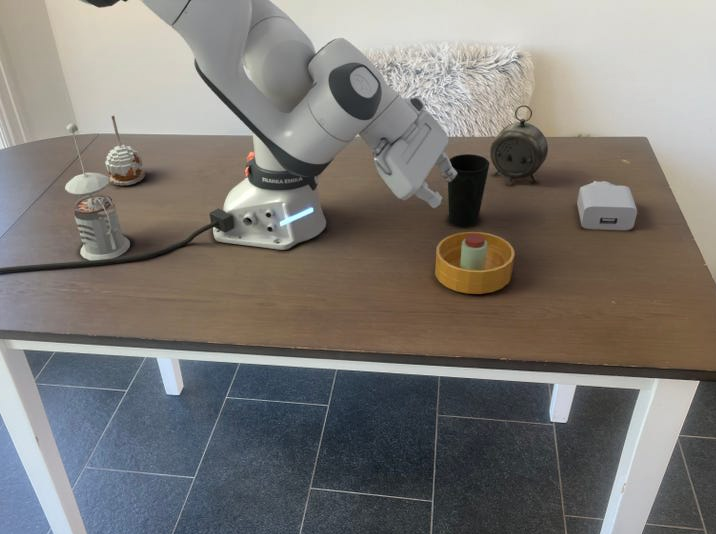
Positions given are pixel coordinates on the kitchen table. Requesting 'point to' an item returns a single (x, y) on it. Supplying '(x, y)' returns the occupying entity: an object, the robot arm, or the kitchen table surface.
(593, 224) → the charger
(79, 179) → the french press
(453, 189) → the cup
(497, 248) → the bowl
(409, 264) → the kitchen table surface
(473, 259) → the container
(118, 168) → the caramel apple
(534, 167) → the alarm clock
